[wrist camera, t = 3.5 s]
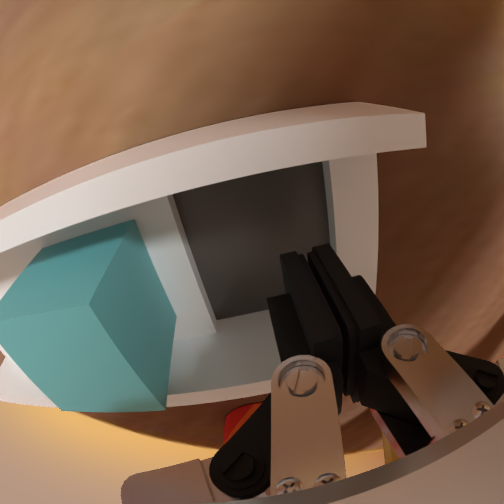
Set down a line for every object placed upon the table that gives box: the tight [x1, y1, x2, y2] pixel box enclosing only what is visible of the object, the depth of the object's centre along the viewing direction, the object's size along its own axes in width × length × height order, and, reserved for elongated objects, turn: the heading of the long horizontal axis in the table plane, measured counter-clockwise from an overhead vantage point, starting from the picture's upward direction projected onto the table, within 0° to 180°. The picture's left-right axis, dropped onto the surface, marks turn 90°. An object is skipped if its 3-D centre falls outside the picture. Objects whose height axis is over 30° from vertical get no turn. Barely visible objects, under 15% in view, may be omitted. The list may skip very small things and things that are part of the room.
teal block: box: [0, 219, 177, 412], centre depth 10 cm, size 5×5×5 cm
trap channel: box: [0, 102, 427, 408], centre depth 11 cm, size 10×24×4 cm, turn 101°
